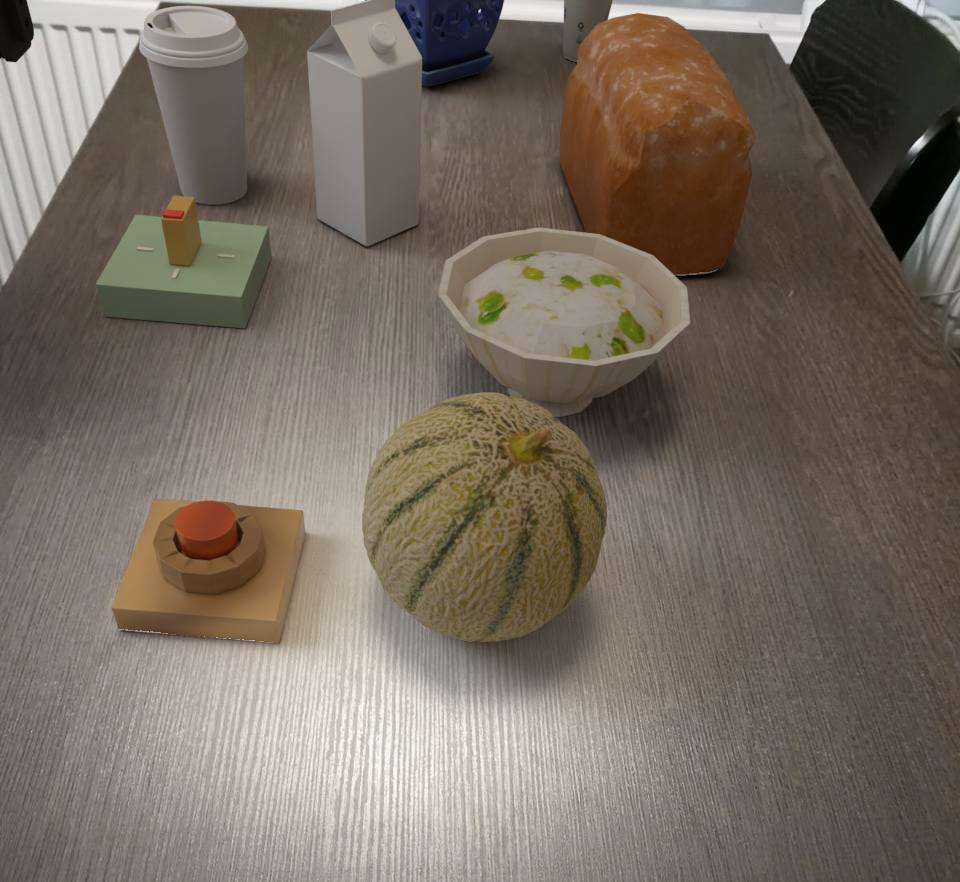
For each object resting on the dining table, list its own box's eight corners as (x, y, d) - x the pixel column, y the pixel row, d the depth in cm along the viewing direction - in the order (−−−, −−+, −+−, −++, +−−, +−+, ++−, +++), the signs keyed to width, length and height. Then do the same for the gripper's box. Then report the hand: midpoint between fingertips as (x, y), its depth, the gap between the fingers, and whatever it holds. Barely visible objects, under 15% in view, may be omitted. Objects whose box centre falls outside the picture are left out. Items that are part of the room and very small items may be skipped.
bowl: (634, 494, 72) (663, 380, 64) (395, 424, 75) (395, 308, 67) (689, 358, 84) (719, 248, 76) (481, 304, 87) (489, 193, 79)
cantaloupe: (383, 511, 69) (382, 323, 57) (589, 537, 68) (628, 353, 57) (343, 674, 59) (331, 487, 48) (582, 704, 59) (627, 523, 47)
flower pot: (355, 63, 121) (352, -51, 112) (436, 42, 127) (439, -67, 118) (425, 100, 115) (427, -16, 106) (505, 76, 121) (514, -35, 112)
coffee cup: (169, 167, 100) (140, 0, 88) (264, 168, 101) (247, 4, 89) (160, 211, 94) (128, 39, 82) (261, 213, 95) (242, 43, 83)
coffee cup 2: (617, 59, 127) (631, -30, 120) (583, 71, 124) (596, -19, 116) (577, 43, 130) (588, -45, 123) (543, 54, 127) (552, -35, 119)
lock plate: (103, 316, 82) (94, 282, 79) (142, 245, 89) (135, 212, 87) (245, 329, 82) (241, 295, 80) (271, 257, 90) (268, 224, 87)
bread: (595, 280, 91) (625, 102, 79) (550, 155, 108) (569, -7, 96) (735, 280, 93) (786, 106, 81) (670, 157, 109) (704, -2, 97)
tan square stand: (118, 631, 60) (103, 587, 57) (160, 521, 66) (149, 476, 63) (279, 644, 60) (273, 601, 57) (305, 533, 67) (301, 489, 64)
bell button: (173, 558, 59) (167, 537, 58) (187, 518, 62) (182, 497, 60) (231, 563, 60) (228, 542, 58) (243, 523, 62) (240, 502, 60)
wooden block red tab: (181, 240, 85) (172, 192, 81) (202, 241, 85) (194, 193, 82) (169, 264, 82) (160, 215, 79) (190, 266, 82) (182, 217, 79)
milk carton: (316, 220, 95) (302, -3, 80) (370, 198, 98) (366, -19, 84) (366, 249, 92) (361, 23, 77) (419, 225, 95) (424, 5, 81)
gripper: (77, -374, 48) (149, 42, 62) (-230, -405, 47) (-87, 20, 61) (24, -359, 43) (115, 89, 57) (-319, -394, 42) (-142, 65, 56)
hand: (10, 52), depth 59 cm, fingers closed
